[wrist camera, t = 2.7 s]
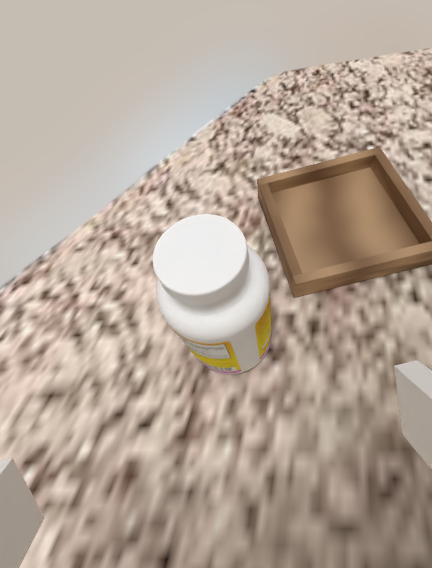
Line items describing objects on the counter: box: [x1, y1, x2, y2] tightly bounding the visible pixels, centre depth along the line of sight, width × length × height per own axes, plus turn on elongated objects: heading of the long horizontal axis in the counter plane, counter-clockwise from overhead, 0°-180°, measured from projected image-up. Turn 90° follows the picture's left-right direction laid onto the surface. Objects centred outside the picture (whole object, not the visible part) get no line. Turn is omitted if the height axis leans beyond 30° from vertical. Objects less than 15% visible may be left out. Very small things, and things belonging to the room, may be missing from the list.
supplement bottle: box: [153, 214, 271, 374], centre depth 21 cm, size 7×7×13 cm
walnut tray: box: [257, 147, 432, 298], centre depth 28 cm, size 12×12×2 cm
